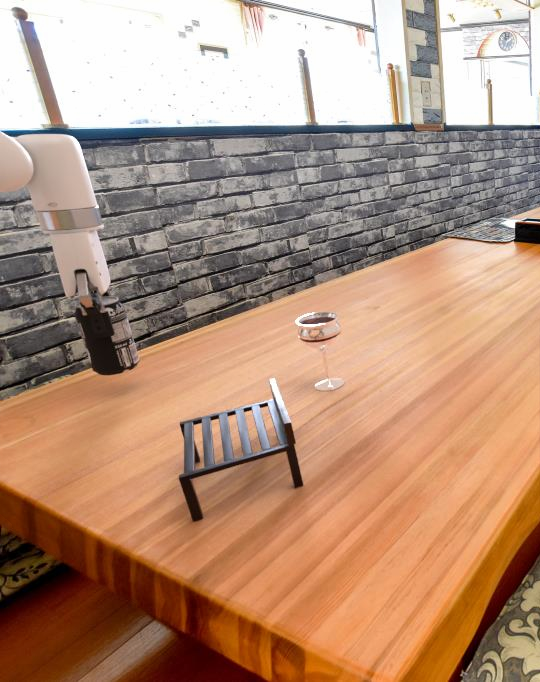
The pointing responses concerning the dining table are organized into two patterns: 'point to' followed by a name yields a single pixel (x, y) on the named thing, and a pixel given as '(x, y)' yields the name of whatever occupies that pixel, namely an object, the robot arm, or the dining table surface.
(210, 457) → the rack
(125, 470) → the dining table surface
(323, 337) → the wineglass
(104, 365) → the beverage can
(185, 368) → the dining table surface
